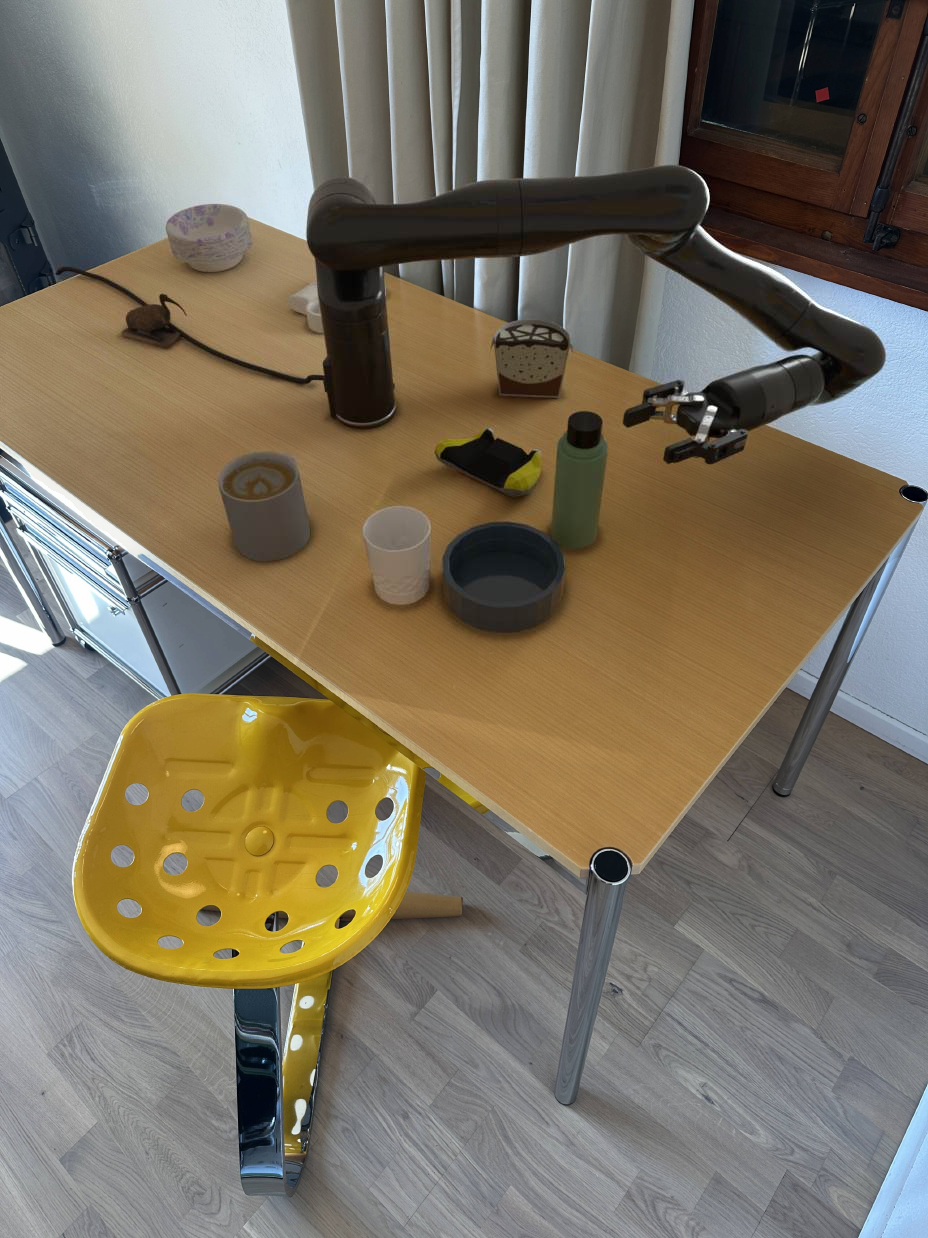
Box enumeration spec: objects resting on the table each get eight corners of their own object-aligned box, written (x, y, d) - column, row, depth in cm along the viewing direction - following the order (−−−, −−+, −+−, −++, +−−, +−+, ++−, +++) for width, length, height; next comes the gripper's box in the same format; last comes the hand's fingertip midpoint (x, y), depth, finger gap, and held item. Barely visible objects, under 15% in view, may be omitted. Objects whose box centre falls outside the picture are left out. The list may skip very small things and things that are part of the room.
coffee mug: (281, 571, 111) (266, 510, 103) (219, 546, 114) (200, 486, 106) (339, 509, 118) (329, 449, 111) (279, 488, 122) (266, 428, 114)
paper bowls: (220, 287, 161) (209, 244, 155) (159, 268, 166) (147, 227, 160) (272, 253, 170) (264, 212, 164) (212, 237, 175) (203, 196, 169)
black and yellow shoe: (515, 519, 117) (557, 480, 122) (516, 486, 112) (560, 448, 118) (429, 476, 123) (472, 441, 128) (427, 444, 119) (472, 410, 124)
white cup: (370, 567, 111) (362, 507, 103) (432, 563, 111) (428, 503, 104) (371, 613, 105) (362, 553, 98) (436, 608, 106) (432, 548, 98)
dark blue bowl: (429, 622, 104) (427, 593, 101) (461, 542, 114) (460, 513, 110) (548, 646, 102) (551, 617, 98) (571, 561, 111) (575, 532, 107)
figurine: (203, 341, 148) (191, 292, 142) (187, 354, 146) (173, 305, 139) (139, 324, 153) (124, 276, 146) (122, 336, 150) (105, 288, 143)
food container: (569, 376, 139) (574, 318, 132) (569, 398, 135) (574, 339, 128) (492, 373, 140) (493, 315, 133) (489, 394, 136) (490, 336, 129)
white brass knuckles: (342, 276, 163) (404, 297, 157) (276, 317, 153) (340, 341, 148) (340, 258, 161) (403, 279, 155) (273, 299, 151) (338, 323, 145)
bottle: (546, 547, 113) (554, 432, 99) (555, 517, 117) (564, 402, 103) (592, 555, 112) (607, 439, 98) (599, 524, 116) (615, 409, 102)
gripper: (718, 348, 114) (614, 383, 109) (794, 402, 105) (685, 442, 100) (707, 397, 119) (609, 433, 114) (779, 452, 111) (675, 493, 106)
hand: (644, 437), depth 107 cm, fingers open, 8 cm apart
